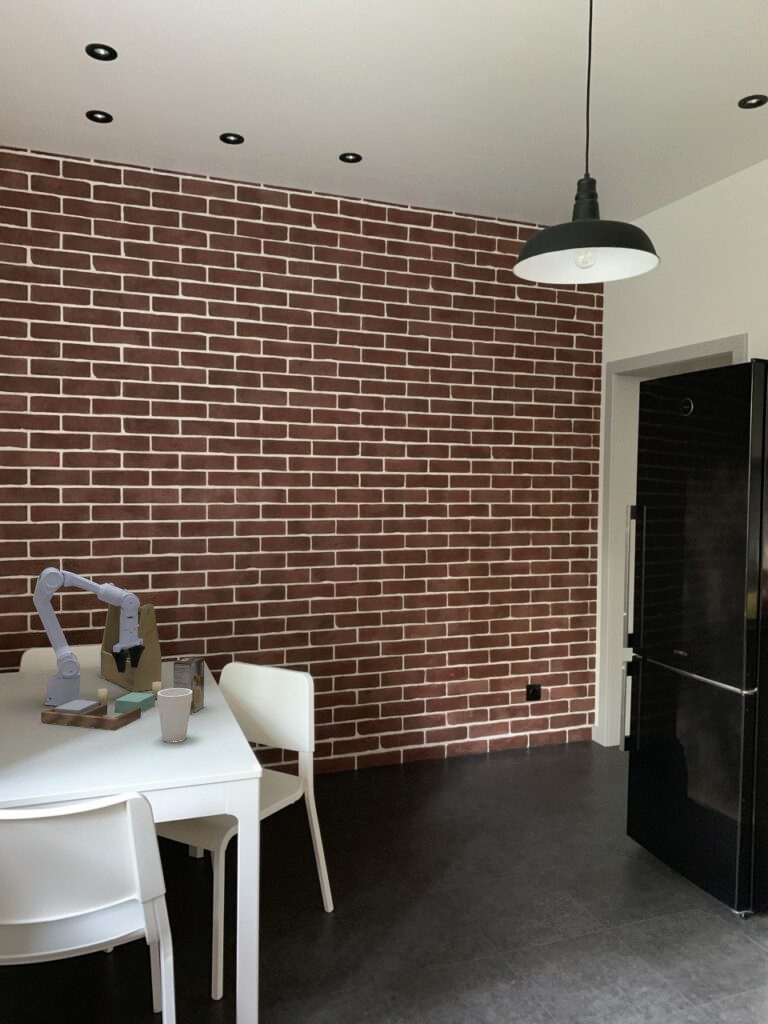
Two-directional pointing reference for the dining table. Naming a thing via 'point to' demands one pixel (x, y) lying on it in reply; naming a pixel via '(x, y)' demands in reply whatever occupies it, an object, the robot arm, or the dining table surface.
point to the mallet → (138, 699)
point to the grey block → (83, 704)
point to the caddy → (149, 658)
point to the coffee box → (191, 679)
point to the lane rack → (91, 717)
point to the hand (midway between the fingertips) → (128, 669)
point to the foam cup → (174, 713)
